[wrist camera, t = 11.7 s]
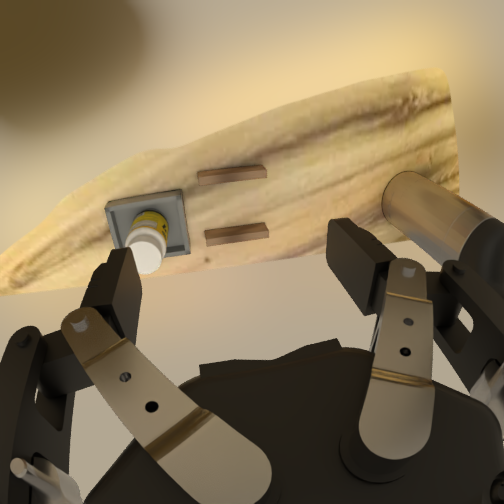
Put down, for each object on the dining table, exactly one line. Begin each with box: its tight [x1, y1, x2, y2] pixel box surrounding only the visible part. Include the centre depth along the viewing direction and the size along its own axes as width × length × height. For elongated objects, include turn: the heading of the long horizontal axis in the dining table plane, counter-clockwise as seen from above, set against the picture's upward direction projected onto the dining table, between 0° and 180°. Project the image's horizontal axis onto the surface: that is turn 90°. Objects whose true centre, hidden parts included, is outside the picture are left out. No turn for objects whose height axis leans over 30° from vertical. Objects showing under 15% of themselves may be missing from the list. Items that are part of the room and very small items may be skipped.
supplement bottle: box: [125, 209, 169, 274], centre depth 34 cm, size 5×5×8 cm
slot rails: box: [197, 165, 269, 246], centre depth 38 cm, size 8×9×2 cm
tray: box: [105, 189, 191, 258], centre depth 37 cm, size 10×8×2 cm
